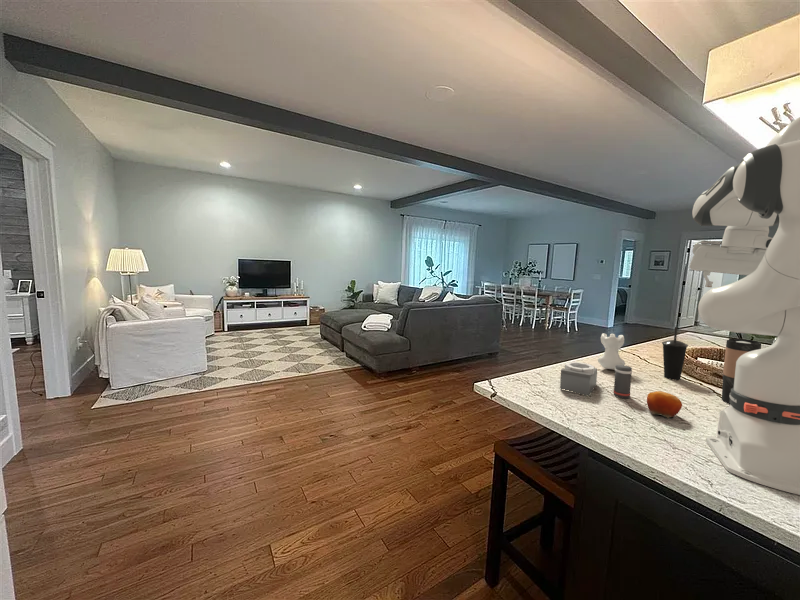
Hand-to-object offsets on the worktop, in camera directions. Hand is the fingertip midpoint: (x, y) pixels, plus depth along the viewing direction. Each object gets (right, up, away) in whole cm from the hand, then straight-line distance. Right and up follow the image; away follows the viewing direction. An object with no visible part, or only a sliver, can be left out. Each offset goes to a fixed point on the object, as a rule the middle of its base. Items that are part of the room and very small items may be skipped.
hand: (729, 289), depth 95 cm
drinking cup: (+9, -33, +31) cm, 47 cm away
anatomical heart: (-7, -32, +43) cm, 54 cm away
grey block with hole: (-32, -35, +23) cm, 52 cm away
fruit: (-19, -37, +1) cm, 42 cm away
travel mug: (+11, -36, +8) cm, 38 cm away
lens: (-22, -35, +14) cm, 44 cm away
